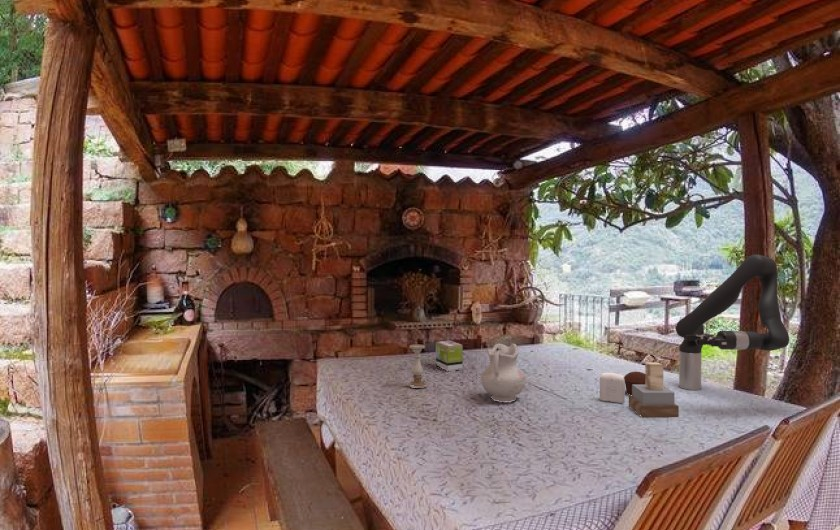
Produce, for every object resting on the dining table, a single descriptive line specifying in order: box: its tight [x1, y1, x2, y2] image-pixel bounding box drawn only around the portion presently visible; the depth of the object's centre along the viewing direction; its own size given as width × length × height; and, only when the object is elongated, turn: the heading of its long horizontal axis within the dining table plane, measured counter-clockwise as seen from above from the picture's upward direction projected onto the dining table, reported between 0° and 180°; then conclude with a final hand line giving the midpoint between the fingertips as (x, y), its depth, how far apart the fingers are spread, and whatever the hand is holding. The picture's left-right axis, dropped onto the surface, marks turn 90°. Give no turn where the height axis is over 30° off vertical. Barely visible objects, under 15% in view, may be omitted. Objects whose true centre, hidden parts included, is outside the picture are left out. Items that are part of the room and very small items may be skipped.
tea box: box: [435, 340, 464, 370], centre depth 281 cm, size 15×10×15 cm
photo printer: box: [599, 372, 626, 404], centre depth 216 cm, size 10×4×12 cm, turn 61°
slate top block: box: [632, 384, 676, 405], centre depth 202 cm, size 12×12×5 cm
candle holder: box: [409, 343, 426, 386], centre depth 243 cm, size 9×9×20 cm
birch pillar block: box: [644, 362, 664, 390], centre depth 201 cm, size 5×5×10 cm
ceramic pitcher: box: [480, 342, 526, 401], centre depth 220 cm, size 22×20×25 cm
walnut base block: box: [628, 395, 680, 418], centre depth 202 cm, size 14×14×5 cm
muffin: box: [624, 371, 645, 396], centre depth 227 cm, size 12×11×10 cm
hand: (691, 339), depth 201 cm, fingers open, 8 cm apart
